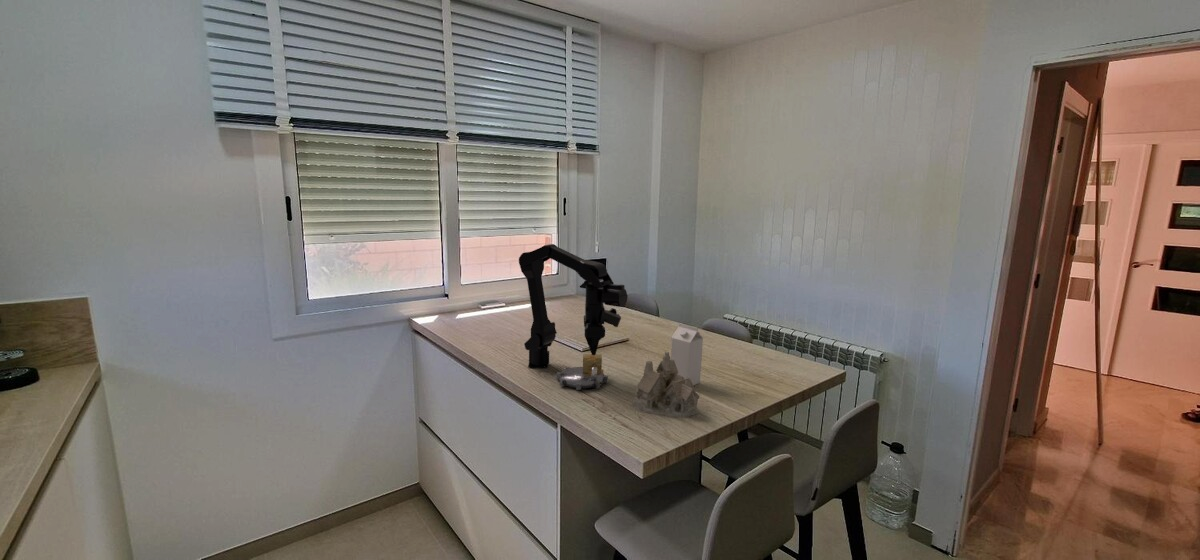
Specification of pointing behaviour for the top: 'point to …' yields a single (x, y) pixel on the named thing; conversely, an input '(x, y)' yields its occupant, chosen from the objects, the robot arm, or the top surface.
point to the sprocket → (581, 378)
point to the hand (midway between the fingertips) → (593, 350)
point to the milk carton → (687, 352)
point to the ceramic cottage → (666, 391)
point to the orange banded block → (592, 363)
